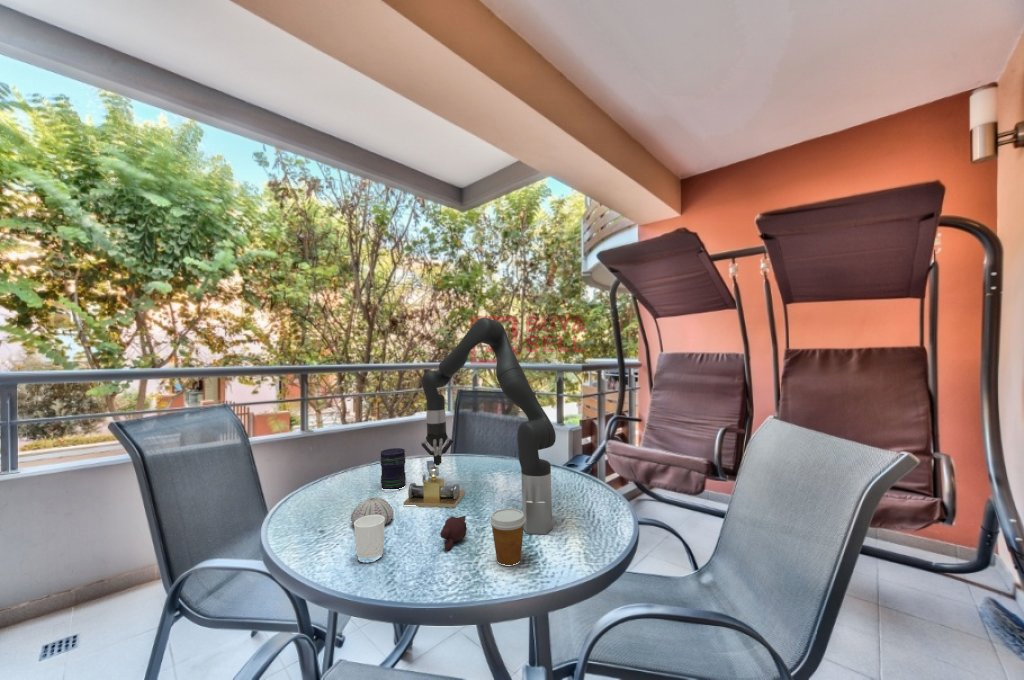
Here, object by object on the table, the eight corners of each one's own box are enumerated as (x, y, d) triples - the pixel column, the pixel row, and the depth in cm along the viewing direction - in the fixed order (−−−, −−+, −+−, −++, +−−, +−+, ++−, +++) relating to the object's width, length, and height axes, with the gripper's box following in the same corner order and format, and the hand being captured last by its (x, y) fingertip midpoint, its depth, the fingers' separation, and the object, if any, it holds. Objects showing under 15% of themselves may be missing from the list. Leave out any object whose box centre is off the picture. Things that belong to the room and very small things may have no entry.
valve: (454, 508, 144) (453, 478, 144) (403, 506, 146) (402, 477, 147) (464, 493, 157) (464, 466, 158) (418, 492, 160) (417, 465, 160)
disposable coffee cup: (483, 561, 107) (482, 515, 108) (509, 547, 114) (508, 504, 114) (508, 574, 101) (507, 525, 101) (534, 559, 107) (532, 514, 108)
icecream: (451, 507, 128) (428, 532, 114) (472, 503, 126) (451, 528, 112) (457, 528, 128) (435, 556, 114) (478, 525, 126) (458, 553, 112)
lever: (439, 476, 150) (439, 468, 150) (429, 477, 149) (429, 470, 149) (434, 467, 162) (434, 460, 162) (425, 468, 161) (425, 461, 161)
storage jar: (375, 490, 164) (375, 453, 164) (390, 482, 173) (389, 447, 173) (397, 492, 161) (396, 454, 161) (410, 484, 170) (409, 448, 170)
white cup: (375, 547, 116) (374, 512, 117) (391, 555, 111) (390, 519, 112) (349, 559, 110) (348, 522, 111) (364, 568, 105) (364, 529, 106)
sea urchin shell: (368, 513, 142) (368, 490, 142) (402, 517, 137) (401, 493, 138) (341, 529, 129) (341, 504, 129) (378, 534, 125) (377, 508, 125)
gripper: (420, 424, 155) (422, 469, 154) (454, 420, 159) (456, 465, 159) (417, 421, 162) (419, 464, 161) (450, 417, 166) (452, 460, 166)
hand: (437, 464), depth 160 cm, fingers closed
